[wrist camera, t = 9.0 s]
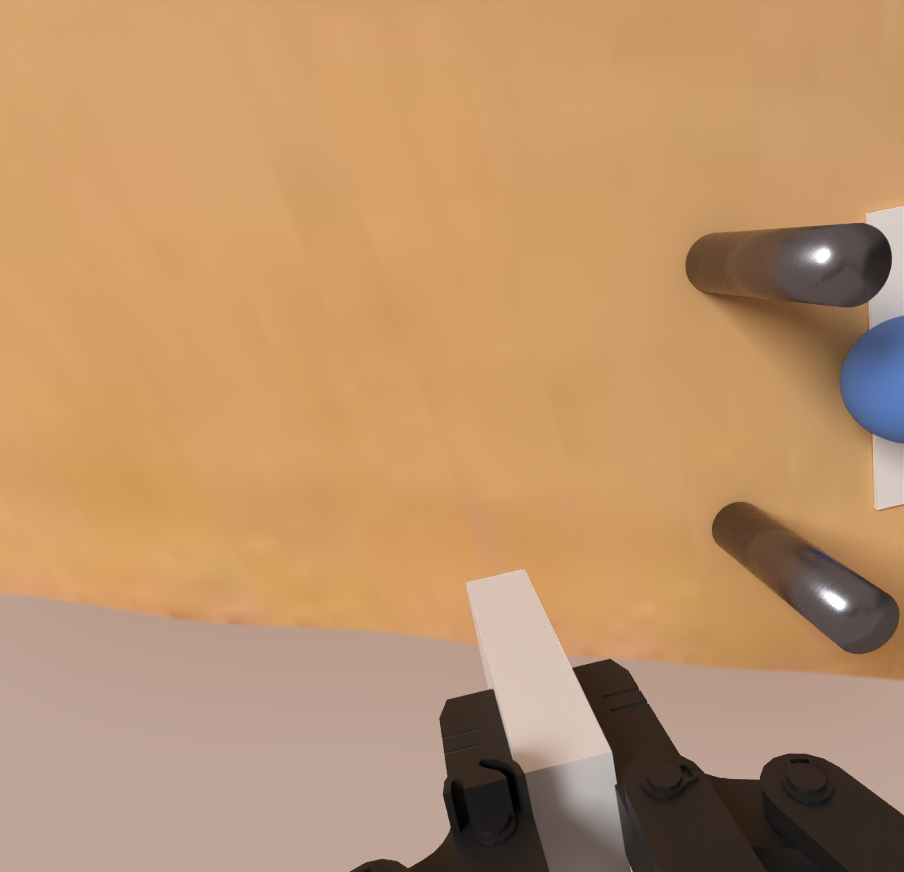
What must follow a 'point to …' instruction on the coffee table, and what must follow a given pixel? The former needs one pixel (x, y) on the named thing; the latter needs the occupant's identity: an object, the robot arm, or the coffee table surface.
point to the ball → (877, 380)
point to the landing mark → (894, 464)
